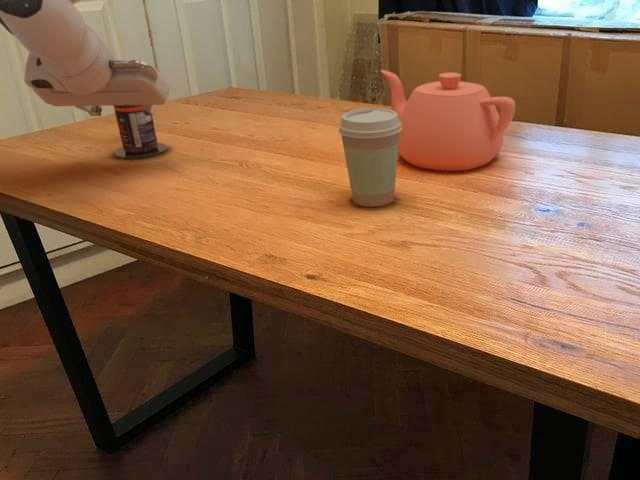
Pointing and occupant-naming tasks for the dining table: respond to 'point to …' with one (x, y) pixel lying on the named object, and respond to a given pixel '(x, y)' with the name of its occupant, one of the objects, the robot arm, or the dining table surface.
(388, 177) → the coffee cup
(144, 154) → the coaster
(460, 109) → the teapot
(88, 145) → the dining table surface
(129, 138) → the supplement bottle
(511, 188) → the dining table surface
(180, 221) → the dining table surface
